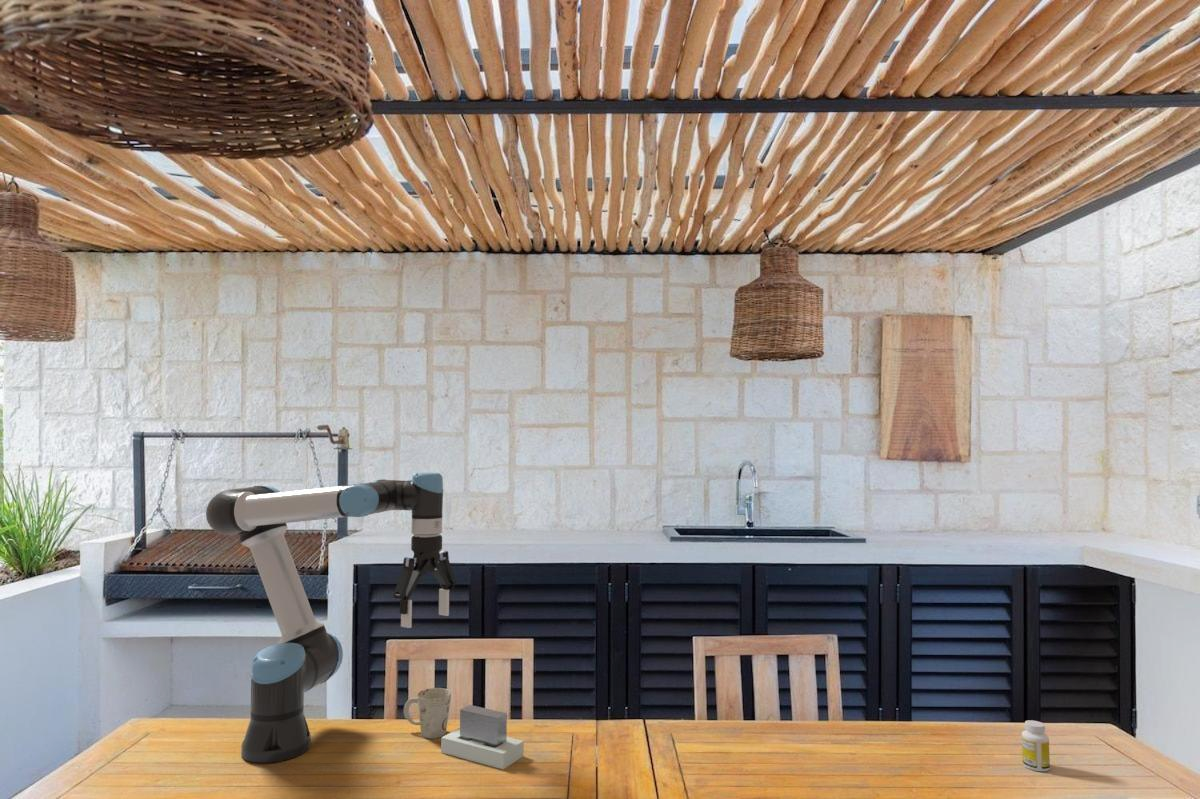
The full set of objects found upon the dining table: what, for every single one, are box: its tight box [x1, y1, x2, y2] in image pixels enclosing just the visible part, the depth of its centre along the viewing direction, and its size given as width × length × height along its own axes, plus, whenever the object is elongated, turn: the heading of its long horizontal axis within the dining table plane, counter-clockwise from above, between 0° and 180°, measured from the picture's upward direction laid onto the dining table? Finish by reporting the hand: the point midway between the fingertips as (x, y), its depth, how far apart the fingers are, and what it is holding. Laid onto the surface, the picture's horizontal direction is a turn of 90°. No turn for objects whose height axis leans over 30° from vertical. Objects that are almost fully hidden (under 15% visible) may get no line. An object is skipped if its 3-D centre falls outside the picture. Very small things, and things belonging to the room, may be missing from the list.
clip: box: [459, 704, 508, 748], centre depth 176 cm, size 11×4×10 cm, turn 61°
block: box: [440, 727, 525, 770], centre depth 176 cm, size 18×8×4 cm, turn 61°
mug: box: [403, 687, 452, 739], centre depth 188 cm, size 8×13×10 cm, turn 78°
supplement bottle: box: [1021, 719, 1051, 772], centre depth 171 cm, size 5×5×10 cm
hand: (425, 621), depth 186 cm, fingers open, 13 cm apart
